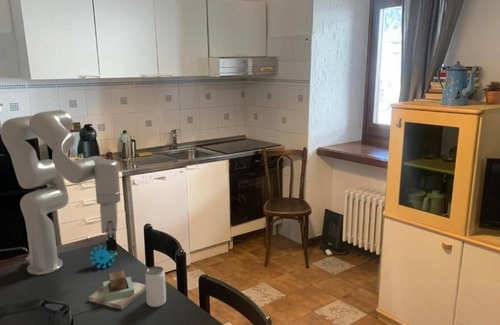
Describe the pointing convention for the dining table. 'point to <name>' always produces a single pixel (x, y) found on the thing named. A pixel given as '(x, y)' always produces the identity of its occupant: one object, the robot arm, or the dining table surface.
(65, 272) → the dining table surface
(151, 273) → the can
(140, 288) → the board
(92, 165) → the robot arm
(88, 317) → the dining table surface
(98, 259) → the gear
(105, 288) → the pocket
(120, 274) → the block
